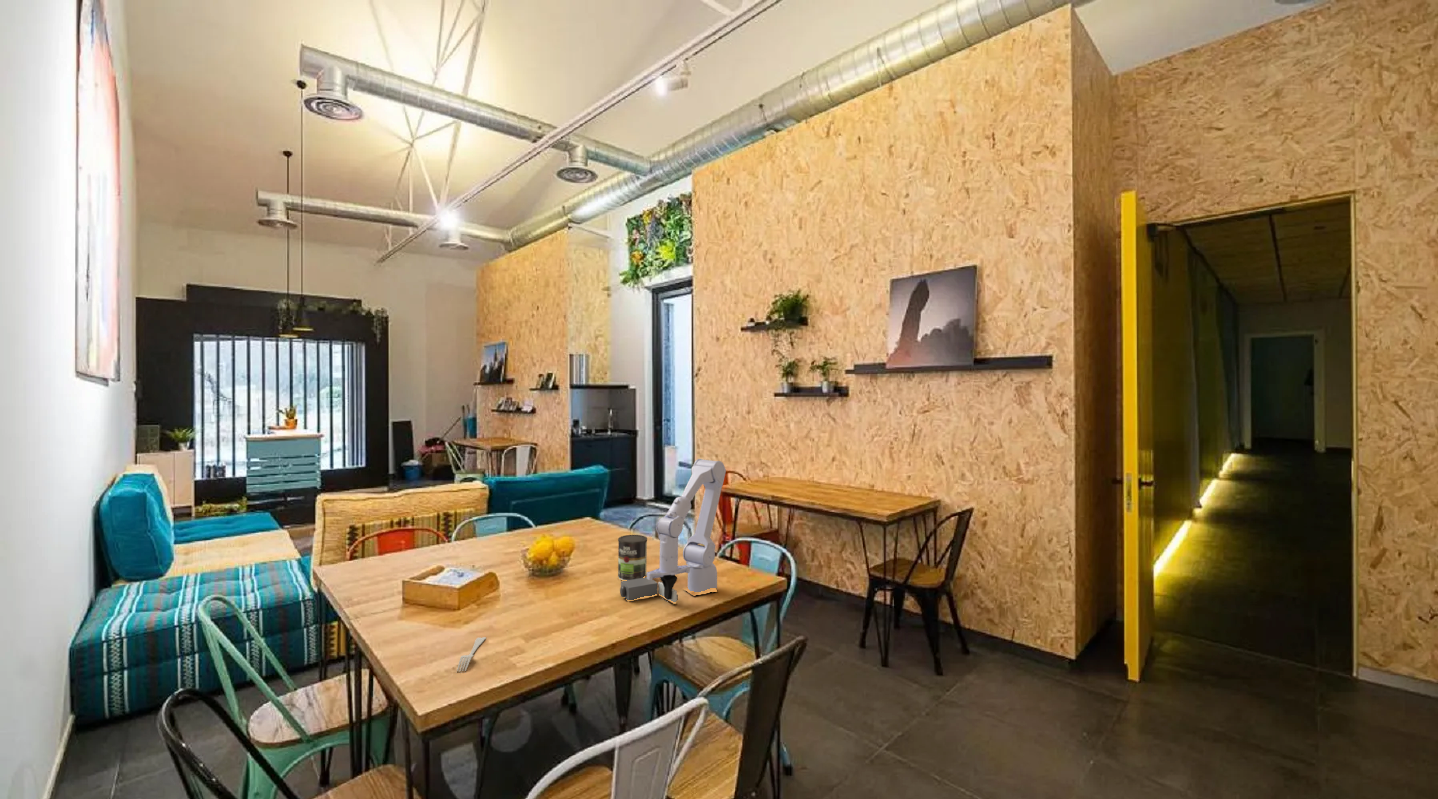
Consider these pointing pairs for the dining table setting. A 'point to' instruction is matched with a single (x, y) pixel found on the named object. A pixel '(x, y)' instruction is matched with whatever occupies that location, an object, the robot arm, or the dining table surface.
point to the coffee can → (632, 557)
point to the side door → (661, 592)
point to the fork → (476, 645)
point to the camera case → (638, 588)
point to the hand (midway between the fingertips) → (668, 598)
